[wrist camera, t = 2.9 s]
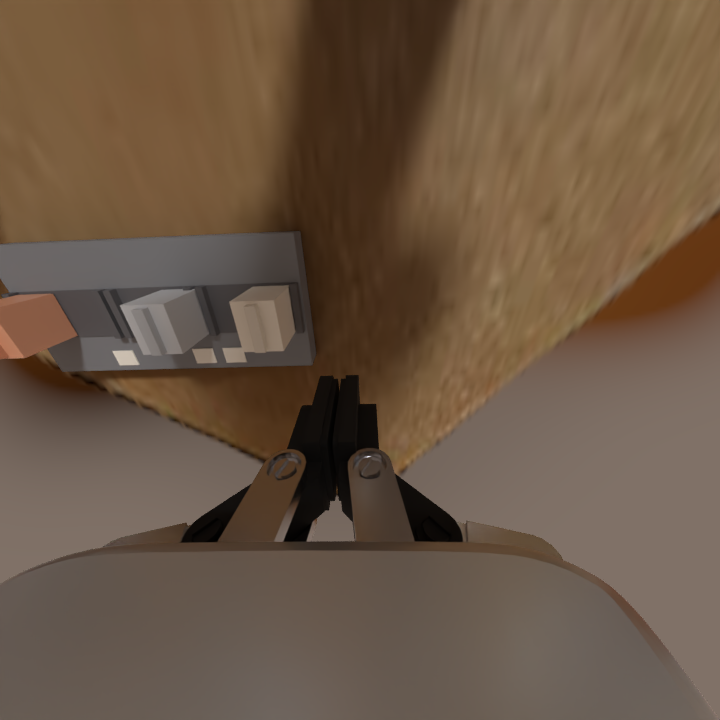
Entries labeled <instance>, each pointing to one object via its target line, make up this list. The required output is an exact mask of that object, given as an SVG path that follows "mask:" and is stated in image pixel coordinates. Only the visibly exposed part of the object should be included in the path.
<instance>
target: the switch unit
mask: <svg viewBox="0 0 720 720" xmlns="http://www.w3.org/2000/svg"><path fill="white" fill-rule="evenodd" d="M0 279H1V280H2V282H3V283H4V285H5V286H6V288H7V289H8V291H9V292H10V293H6V294H2V295H1V296H2V297H3V298H7V297H11V296H15V295H28V294H53V295H54V296H55V298H56V300H57V301H58V303H59V305H60V306H61V308H62V310H63V311H64V313H65V315H66V316H67V318H68V320H69V322H70V323H71V325H72V327H73V328H74V330H75V332H76V333H77V335H78V336H76V337H73V338H71V339H69V340H66V341H64V342H61V343H59V344H57V345H54V346H52V347H50V348H47V349H48V351H49V352H50V354H51V355H52V357H53V358H54V359H55V361H56V362H57V364H58V365H59V367H60V368H61V370H62V371H63V372H64V371H104V370H145V369H185V368H225V367H265V366H305V365H313V362H314V359H315V356H316V347H315V339H314V332H313V324H312V317H311V309H310V301H309V294H308V286H307V279H306V271H305V264H304V256H303V248H302V241H301V233H300V231H285V232H262V233H238V234H215V235H191V236H167V237H144V238H120V239H96V240H73V241H49V242H26V243H8V244H0ZM283 285H289V289H290V295H291V301H292V307H293V313H294V319H295V325H296V331H295V333H294V335H293V337H292V338H291V340H290V342H289V343H288V345H287V347H286V348H285V350H284V351H269V352H266V353H255V352H243V350H242V346H241V342H240V339H239V335H238V332H237V328H236V324H235V321H234V317H233V314H232V310H231V307H230V303H229V302H230V301H231V300H233V299H234V298H236V297H237V296H239V295H240V294H242V293H244V292H245V291H247V290H248V289H250V288H251V287H254V286H283ZM169 289H183V291H187V290H192V289H195V292H196V295H197V298H198V301H199V304H200V307H201V310H202V313H203V316H204V318H205V321H206V324H207V327H208V330H209V334H208V335H207V336H206V337H204V338H203V339H202V340H200V341H199V342H198V343H196V344H195V345H194V346H193V347H191V348H190V349H189V350H187V351H186V352H185V353H183V354H164V355H162V356H152V355H143V353H142V351H141V349H140V347H139V344H138V342H137V340H136V338H135V336H134V334H133V332H132V330H131V328H130V326H129V324H128V322H127V320H126V318H125V316H124V313H123V311H122V309H121V307H120V305H122V304H125V303H128V302H130V301H133V300H136V299H138V298H141V297H144V296H146V295H149V294H152V293H154V292H157V291H160V290H169Z"/></svg>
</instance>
